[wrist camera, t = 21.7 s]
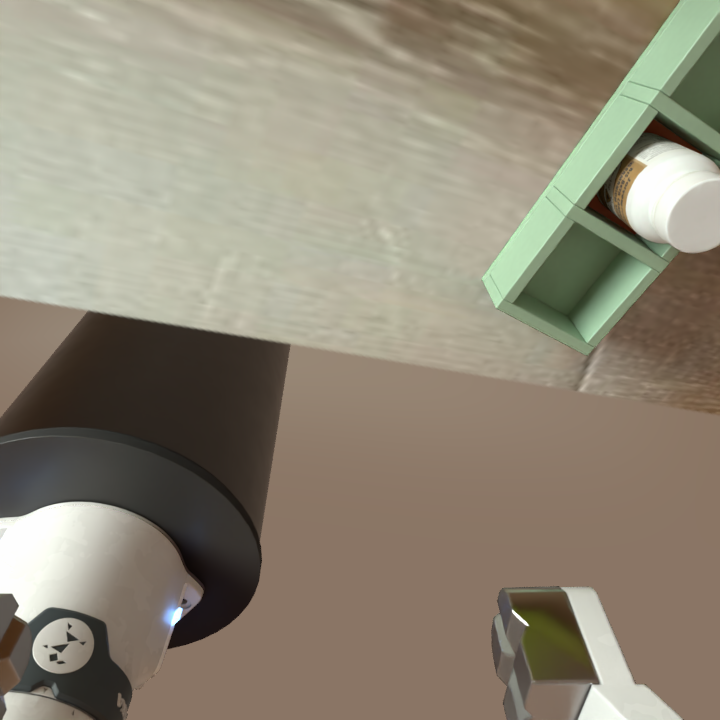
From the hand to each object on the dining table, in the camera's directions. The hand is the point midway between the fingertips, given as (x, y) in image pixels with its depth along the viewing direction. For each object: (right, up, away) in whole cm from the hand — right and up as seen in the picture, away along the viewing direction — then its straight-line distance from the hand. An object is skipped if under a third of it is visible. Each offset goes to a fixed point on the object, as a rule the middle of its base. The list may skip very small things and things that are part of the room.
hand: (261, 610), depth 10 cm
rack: (+17, +15, +23) cm, 32 cm away
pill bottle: (+17, +15, +22) cm, 32 cm away
